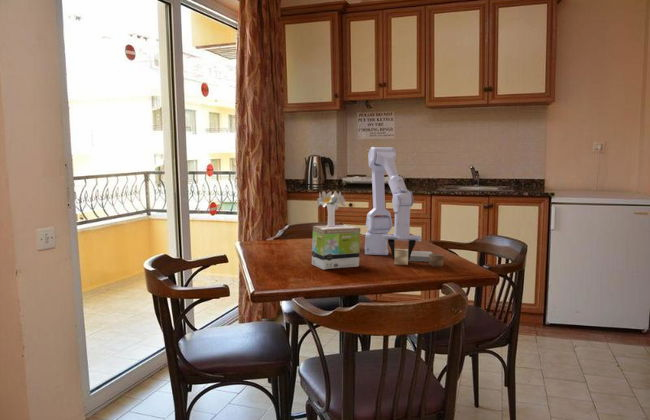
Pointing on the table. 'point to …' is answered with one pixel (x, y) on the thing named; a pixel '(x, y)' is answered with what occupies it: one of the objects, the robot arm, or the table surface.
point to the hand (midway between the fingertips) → (401, 259)
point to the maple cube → (401, 256)
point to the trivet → (420, 256)
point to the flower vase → (331, 204)
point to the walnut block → (436, 259)
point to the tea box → (335, 246)
